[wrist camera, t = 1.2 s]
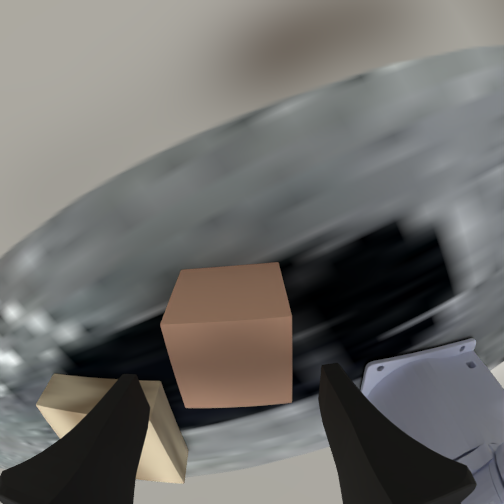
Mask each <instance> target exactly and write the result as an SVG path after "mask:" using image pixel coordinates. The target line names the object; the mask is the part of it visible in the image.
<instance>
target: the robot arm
mask: <svg viewBox="0 0 504 504" xmlns="http://www.w3.org/2000/svg"><path fill="white" fill-rule="evenodd" d="M475 345H476V340H475V339H474V338H470V339H467V340H463V341H459V342H456V343H452V344H448V345H444V346H440V347H436V348H432V349H428V350H424V351H420V352H415V353H411V354H406V355H401V356H396V357H391V358H386V359H381V360H376V361H371V362H369V363H368V364H367V365H366V367H365V371H364V376H363V380H362V385H361V390H359V389H358V388H357V386H356V385H355V384H354V383H353V382H352V380H351V379H350V378H349V377H348V375H347V374H346V373H345V371H344V370H343V369H342V367H341V366H340V365H339V364H338V363H333V364H326V365H322V367H321V378H320V388H319V398H318V400H319V406H320V412H321V417H322V422H323V425H324V429H325V432H326V435H327V438H328V442H329V445H330V448H331V451H332V454H333V457H334V461H335V464H336V468H337V472H338V476H339V482H340V487H341V493H342V500H343V504H504V389H503V388H502V386H501V385H500V384H499V382H498V381H497V380H496V378H495V377H494V376H493V374H492V373H491V372H490V371H489V369H488V368H487V367H486V365H485V364H484V363H483V362H482V360H481V359H480V358H479V357H478V355H477V354H476V353H475V352H474V348H475ZM379 366H380V367H379ZM149 415H150V405H149V403H148V401H147V399H146V396H145V394H144V392H143V389H142V387H141V384H140V382H139V380H138V377H137V375H134V374H123V375H122V376H121V377H120V378H119V379H118V380H117V381H116V382H115V384H114V385H113V386H112V387H111V388H110V389H109V391H108V392H107V393H106V394H105V395H104V396H103V397H102V399H101V400H100V401H99V402H98V403H97V404H96V405H95V406H94V408H93V409H92V410H91V411H90V412H89V413H88V414H87V415H86V416H85V417H84V418H83V419H82V420H81V421H80V422H79V423H78V424H77V425H76V426H75V427H74V428H73V429H72V430H70V431H69V432H68V433H67V434H66V435H65V436H63V437H62V438H61V439H60V440H58V441H57V442H56V443H54V444H53V445H51V446H50V447H48V448H47V449H45V450H44V451H43V452H41V453H39V454H38V455H36V456H34V457H32V458H31V459H29V460H27V461H25V462H23V463H21V464H18V465H16V466H14V467H11V468H9V469H7V470H4V471H2V473H1V476H0V502H2V503H3V504H133V497H134V488H135V479H136V474H137V469H138V465H139V461H140V457H141V453H142V450H143V446H144V442H145V438H146V434H147V430H148V423H149Z"/></svg>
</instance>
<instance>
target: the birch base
mask: <svg viewBox="0 0 504 504" xmlns="http://www.w3.org/2000/svg"><path fill="white" fill-rule="evenodd" d="M117 380H118V379H104V378H92V377H81V376H71V375H62V374H54V375H53V376H52V378H51V380H50V381H49V383H48V385H47V386H46V388H45V390H44V391H43V393H42V395H41V397H40V398H39V400H38V402H37V404H36V406H37V407H38V409H39V410H40V412H41V413H42V415H43V416H44V417H45V419H46V420H47V422H48V423H49V424H50V426H51V427H52V428H53V430H54V431H55V432H56V434H57V435H58V436H59V438H60V439H61V438H62V437H63V436H65V435H66V434H67V433H68V432H69V431H70V430H72V429H73V428H74V427H75V426H76V425H77V424H78V423H79V422H80V421H81V420H82V419H83V418H84V417H85V416H86V415H87V414H88V413H89V412H90V411H91V410H92V409H93V408H94V406H95V405H96V404H97V403H98V402H99V401H100V400H101V399H102V397H103V396H104V395H105V394H106V393H107V392H108V391H109V389H110V388H111V387H112V386H113V385H114V384H115V382H116V381H117ZM139 382H140V384H141V387H142V389H143V392H144V394H145V396H146V399H147V401H148V403H149V405H150V415H149V423H148V430H147V434H146V438H145V442H144V446H143V450H142V453H141V457H140V461H139V465H138V469H137V474H136V479H140V480H148V481H158V482H168V483H183V484H184V481H185V474H186V465H187V457H188V449H187V446H186V444H185V442H184V439H183V437H182V435H181V432H180V430H179V428H178V425H177V423H176V420H175V418H174V415H173V413H172V410H171V408H170V405H169V403H168V400H167V397H166V395H165V392H164V389H163V387H162V384H161V381H142V380H139Z"/></svg>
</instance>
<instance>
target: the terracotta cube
mask: <svg viewBox="0 0 504 504" xmlns="http://www.w3.org/2000/svg"><path fill="white" fill-rule="evenodd" d="M160 326H161V330H162V333H163V337H164V340H165V344H166V347H167V351H168V354H169V358H170V361H171V364H172V367H173V371H174V374H175V377H176V380H177V383H178V386H179V389H180V393H181V396H182V398H183V401H184V404H185V407H186V408H224V407H246V406H260V405H273V404H283V403H292V314H291V310H290V306H289V302H288V298H287V294H286V290H285V286H284V282H283V278H282V274H281V270H280V266H279V262H274V263H262V264H249V265H237V266H224V267H211V268H197V269H184V270H181V271H180V274H179V276H178V279H177V282H176V284H175V287H174V289H173V292H172V294H171V297H170V300H169V302H168V305H167V308H166V310H165V313H164V316H163V318H162V321H161V324H160Z"/></svg>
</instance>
